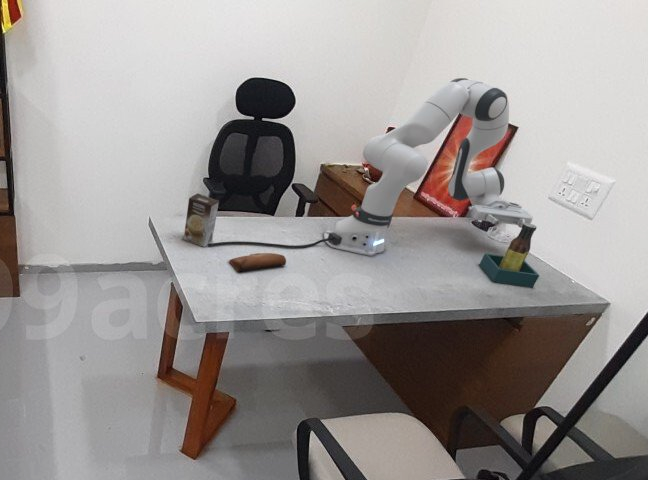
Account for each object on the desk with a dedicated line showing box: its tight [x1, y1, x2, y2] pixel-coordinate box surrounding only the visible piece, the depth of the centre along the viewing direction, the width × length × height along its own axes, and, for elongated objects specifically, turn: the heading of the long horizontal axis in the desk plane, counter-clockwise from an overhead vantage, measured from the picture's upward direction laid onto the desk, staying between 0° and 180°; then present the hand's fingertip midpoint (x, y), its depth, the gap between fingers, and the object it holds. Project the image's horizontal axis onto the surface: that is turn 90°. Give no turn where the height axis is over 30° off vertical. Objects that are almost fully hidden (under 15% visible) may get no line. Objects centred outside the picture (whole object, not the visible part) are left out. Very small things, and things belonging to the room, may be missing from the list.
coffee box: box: [183, 193, 220, 248], centre depth 182 cm, size 9×6×16 cm
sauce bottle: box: [499, 223, 538, 272], centre depth 180 cm, size 6×6×20 cm
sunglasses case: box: [229, 252, 287, 273], centre depth 174 cm, size 18×7×7 cm, turn 113°
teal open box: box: [478, 252, 540, 289], centre depth 184 cm, size 14×13×5 cm
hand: (509, 224), depth 187 cm, fingers open, 8 cm apart
